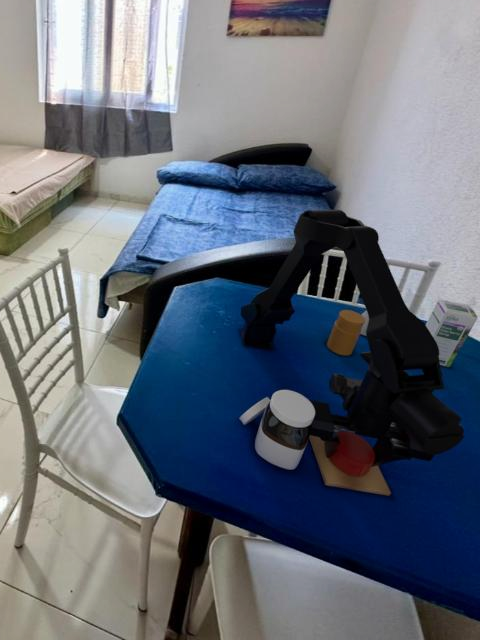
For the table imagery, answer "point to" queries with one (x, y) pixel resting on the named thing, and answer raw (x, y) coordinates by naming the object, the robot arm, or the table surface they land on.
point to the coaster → (337, 478)
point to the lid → (353, 455)
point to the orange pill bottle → (345, 332)
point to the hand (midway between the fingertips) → (347, 460)
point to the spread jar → (282, 427)
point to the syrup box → (450, 328)
